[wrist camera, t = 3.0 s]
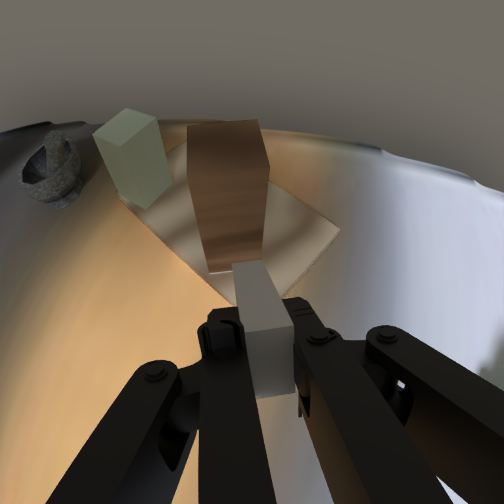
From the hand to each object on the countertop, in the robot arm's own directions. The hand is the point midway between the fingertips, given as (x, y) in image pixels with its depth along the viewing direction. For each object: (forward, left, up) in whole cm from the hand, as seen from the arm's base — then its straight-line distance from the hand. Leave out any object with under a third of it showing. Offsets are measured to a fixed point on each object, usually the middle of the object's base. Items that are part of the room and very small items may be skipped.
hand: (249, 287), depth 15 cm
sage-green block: (-22, +5, -13) cm, 26 cm away
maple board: (-13, +9, -14) cm, 21 cm away
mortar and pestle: (-33, -3, -15) cm, 36 cm away
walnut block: (-8, +6, -13) cm, 16 cm away
